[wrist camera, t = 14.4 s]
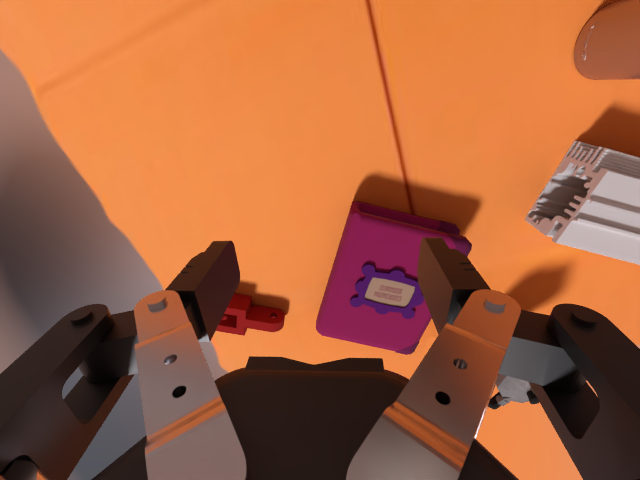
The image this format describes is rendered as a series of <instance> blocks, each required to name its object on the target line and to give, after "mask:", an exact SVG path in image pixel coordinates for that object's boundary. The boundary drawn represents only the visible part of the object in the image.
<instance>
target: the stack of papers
mask: <svg viewBox="0 0 640 480" xmlns="http://www.w3.org/2000/svg"><path fill="white" fill-rule="evenodd" d="M525 221H526V222H528V223H530V224H531V225H532V226H533V227H535V228H536V229H538V230H539V231H540V232H542V233H544V235H546V236H549V237H553V239H552V241H553V242H555V243H558V244H562V245H566V246H570V247H574V248H578V249H581V250H585V251H589V252H593V253H597V254H601V255H604V256H608V257H612V258H616V259H620V260H624V261H627V262H631V263H635V264H639V265H640V157H636V156H633V155H629V154H626V153H622V152H619V151H615V150H612V149H609V148H604V147H601V146H599V147H597V146H594V145H590V144H587V143H583V142H580V141H576V140H575V141H574V142H573V144H572V145H571V147H570V148H569V150H568V152H567V153H566V155H565V156H564V158H563V159H562V161H561V163H560V164H559V166H558V167H557V169H556V170H555V172H554V174H553V175H552V177H551V178H550V180H549V181H548V183H547V185H546V186H545V188H544V189H543V191H542V192H541V194H540V195H539V197H538V199H537V200H536V202H535V203H534V205H533V206H532V208H531V210H530V211H529V213H528V214H527V216H526V217H525Z"/></svg>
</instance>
